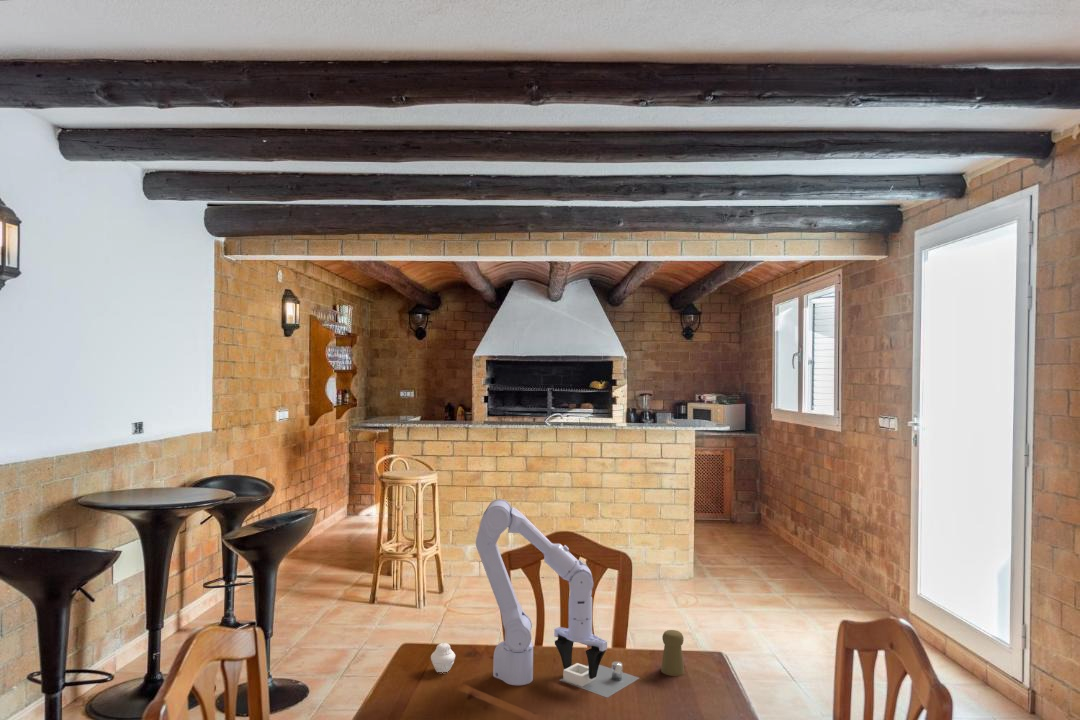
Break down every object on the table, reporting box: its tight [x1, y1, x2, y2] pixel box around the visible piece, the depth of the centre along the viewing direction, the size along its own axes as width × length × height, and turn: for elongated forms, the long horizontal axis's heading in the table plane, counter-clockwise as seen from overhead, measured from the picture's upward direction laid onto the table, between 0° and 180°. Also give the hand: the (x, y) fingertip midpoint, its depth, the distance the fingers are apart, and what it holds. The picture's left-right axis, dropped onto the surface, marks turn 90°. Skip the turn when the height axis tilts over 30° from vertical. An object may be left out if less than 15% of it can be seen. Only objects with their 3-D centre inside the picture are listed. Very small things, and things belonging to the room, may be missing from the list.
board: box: [559, 664, 640, 698], centre depth 171 cm, size 14×14×1 cm
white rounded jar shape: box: [430, 642, 456, 674], centre depth 177 cm, size 6×6×7 cm
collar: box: [562, 662, 596, 687], centre depth 171 cm, size 6×6×2 cm
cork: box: [660, 629, 685, 677], centre depth 176 cm, size 6×6×11 cm
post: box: [611, 661, 623, 681], centre depth 171 cm, size 3×3×4 cm
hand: (579, 673), depth 171 cm, fingers open, 7 cm apart
